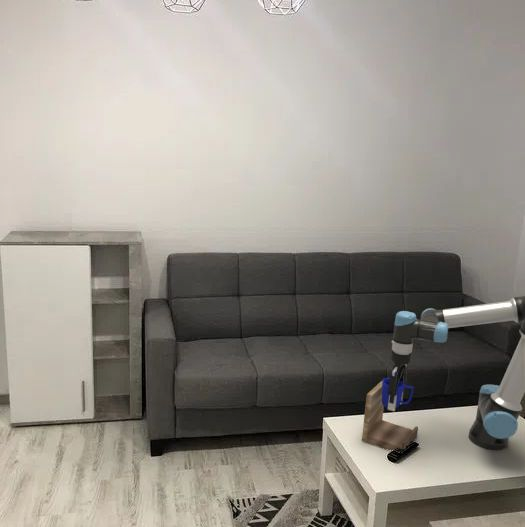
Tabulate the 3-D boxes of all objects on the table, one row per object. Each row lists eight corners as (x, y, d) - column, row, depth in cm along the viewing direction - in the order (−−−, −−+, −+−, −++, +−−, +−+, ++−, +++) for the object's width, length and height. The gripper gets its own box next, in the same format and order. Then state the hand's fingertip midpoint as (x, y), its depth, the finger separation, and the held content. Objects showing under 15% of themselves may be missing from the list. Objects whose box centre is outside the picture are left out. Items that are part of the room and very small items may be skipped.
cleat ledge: (416, 438, 246) (418, 427, 245) (403, 455, 233) (404, 443, 231) (381, 426, 253) (382, 415, 252) (366, 442, 240) (367, 431, 239)
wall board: (381, 426, 253) (386, 382, 249) (366, 442, 240) (371, 395, 235) (376, 425, 254) (382, 380, 250) (361, 441, 241) (366, 394, 236)
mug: (411, 413, 235) (414, 389, 233) (379, 408, 238) (382, 384, 235) (411, 404, 243) (413, 380, 241) (380, 399, 245) (382, 376, 243)
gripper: (401, 341, 244) (394, 394, 250) (382, 356, 228) (376, 412, 233) (419, 346, 241) (412, 400, 246) (402, 361, 224) (394, 419, 230)
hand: (394, 406), depth 240 cm, fingers closed on mug, 7 cm apart
